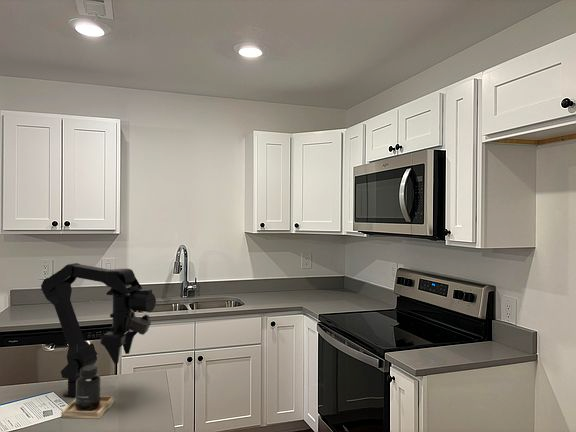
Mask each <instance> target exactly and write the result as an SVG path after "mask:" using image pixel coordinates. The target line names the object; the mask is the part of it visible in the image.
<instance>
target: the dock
mask: <svg viewBox="0 0 576 432" xmlns="http://www.w3.org/2000/svg"><path fill="white" fill-rule="evenodd" d="M114 403H115V396H114V395H100V406H99V407H98V408H97V409H95V410H92V411H78V410H77V409H76V398H74V400H73V401H71V402H70V403H69V404H68V405H67V406H66V407H65V408H64V409H62V410H61V411H60V413H61V419H62V418H63V419H99V420H100V419H101V417H102V416H103V415H105V413H106V412H107V411H108V410H109V409H110V407H112V405H113V404H114Z"/></svg>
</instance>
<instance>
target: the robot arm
mask: <svg viewBox="0 0 576 432" xmlns="http://www.w3.org/2000/svg"><path fill="white" fill-rule="evenodd" d="M77 278H78V279H84V280H89V281H94V282H99V283H102V284H104V285H105V286H106V287H108V288H110V289H109V290H108V291H107V292H106V295H107V296H112V313H110V314H109V318H112V324H111V325H112V326H110V327H109V331H107V332H106V333H104V334H103V335H101V337H100V340H99V341H100V345H101V346H103V347H104V349H106V352H107V353H108V355H109V357H110V358H111V361H112V362H113V363H114V365H117V364H119V362H120V354H121V349H122V348H123V350H124V354H126V355H129V354H130V352H131V349H132V345H133V341H134V338H135V335H137V334H139V335H142V336H143V335H145V334H146V333H147V332H148V331H149V328H150V326H151V325H152V323H151V317H150V315H148V314H144V315H142V317H141V316H136V312H146V313H150V312H153V311H154V309H155V308H156V305H157V299H156V297H155V294H154V293H153V289H149V288H148V289H143V287H142V285H141V284H140V283H139V281H138V279H137V278H136V275H135V273H134V271H133V269H131V268H115V269H110V268H109V269H108V268H103V267H98V266H91V265H87V264H81V263H78V262H75V263H69V264H66V265H65V266H63V268H61V269H60V270H58V271H57V272H55V273H53V274H52V275H50V276H49V277H46V278H44V279H43V280H42V282H41V285H40V288H41V291H42V294H43V295H44V297H45V299H46V300H47V301H49V302H50V304H52V305H53V307H54V309H55V312H56V315H57V317H58V322H59V323H60V327H61V330H62V333H63V335H64V337H65V341H66V343H67V347H68V348H67V354H66V360H67V364H66V365H65V367H63V368H62V370H60V374H61V378H62V379H67V390H66V391H65V392H64V393H63V394H62V397H75V398H76V380H77V378H78V377H80V368H81V367H83V366H87V365H95V366H96V363H97V361H98V357H97V355H98V353H97V351H96V348H95V345H94V343H93V342H92V343H88V342H87V341H86V340H85V338H84V336H83V332H82V330H81V327H80V324H79V321H78V318H77V315H76V312H75V310H74V308H73V307H74V306H73V304H72V301H71V296H72V284H74V282H76V280H77Z"/></svg>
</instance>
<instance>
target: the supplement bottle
mask: <svg viewBox="0 0 576 432" xmlns="http://www.w3.org/2000/svg"><path fill="white" fill-rule="evenodd" d="M101 381H102V380H101V375H99V374H98V366H97V365H96V364H95V365H87V366H83V367H81V368H80V377H78V378H77V380H76V397H75V399H76V409H77V410H78V411H92V410H95V409H97V408H98V407H99V406H100V396H101V390H102V389H101V386H102V385H101Z"/></svg>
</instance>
